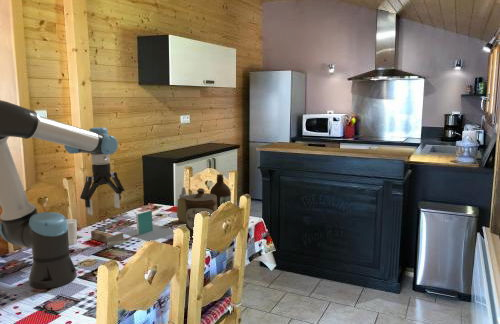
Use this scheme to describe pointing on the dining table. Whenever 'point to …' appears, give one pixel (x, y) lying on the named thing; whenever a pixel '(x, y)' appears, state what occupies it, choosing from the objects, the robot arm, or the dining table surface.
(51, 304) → the dining table surface
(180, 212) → the squeeze bottle
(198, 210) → the wooden container
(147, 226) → the tile
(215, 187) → the olive oil
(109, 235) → the brown rectangular box
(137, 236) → the slate mat
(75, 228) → the white cup
